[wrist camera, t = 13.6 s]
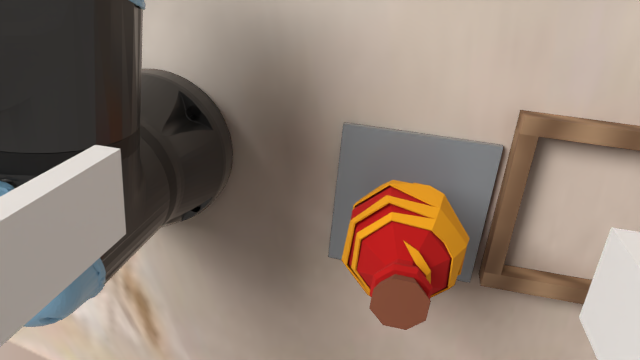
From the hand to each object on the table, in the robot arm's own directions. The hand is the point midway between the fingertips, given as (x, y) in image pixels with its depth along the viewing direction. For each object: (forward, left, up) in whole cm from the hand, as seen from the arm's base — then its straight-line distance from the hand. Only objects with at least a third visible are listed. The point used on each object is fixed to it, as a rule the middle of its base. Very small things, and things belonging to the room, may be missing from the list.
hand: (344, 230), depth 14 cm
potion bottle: (+3, -14, -32) cm, 35 cm away
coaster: (+3, -14, -33) cm, 36 cm away
